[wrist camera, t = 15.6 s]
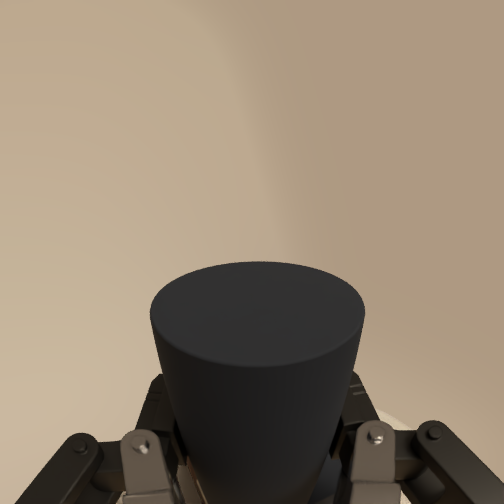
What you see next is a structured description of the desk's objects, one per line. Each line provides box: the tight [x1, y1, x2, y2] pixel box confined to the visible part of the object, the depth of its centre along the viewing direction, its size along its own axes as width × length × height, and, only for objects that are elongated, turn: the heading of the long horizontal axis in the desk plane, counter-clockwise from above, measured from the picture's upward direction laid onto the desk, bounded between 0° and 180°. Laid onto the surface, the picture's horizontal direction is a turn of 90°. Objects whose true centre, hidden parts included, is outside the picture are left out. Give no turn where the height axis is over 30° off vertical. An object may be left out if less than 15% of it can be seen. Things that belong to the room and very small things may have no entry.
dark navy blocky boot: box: [150, 262, 365, 504], centre depth 10 cm, size 11×5×13 cm, turn 114°
